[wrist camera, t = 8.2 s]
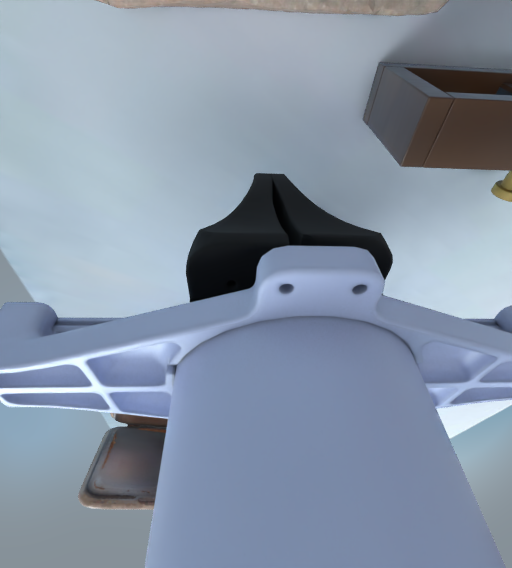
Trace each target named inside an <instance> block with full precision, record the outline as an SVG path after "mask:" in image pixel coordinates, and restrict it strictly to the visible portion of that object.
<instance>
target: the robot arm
mask: <svg viewBox="0 0 512 568" xmlns="http://www.w3.org/2000/svg"><path fill="white" fill-rule="evenodd" d="M392 263H393V257H392V253H391V251H390V249H389V247H388V245H387V243H386V241H385V239H384V238H383V236H382V235H381V233H378V232H374V231H371V230H367V229H363V228H360V227H357V226H355V225H352V224H349V223H347V222H345V221H342V220H340V219H338V218H336V217H334V216H332V215H331V214H329V213H327V212H325V211H324V210H322V209H321V208H319V207H318V206H317V205H315V204H314V203H313V202H311V201H310V200H309V199H308V198H307V197H306V196H304V195H303V194H302V193H301V192H300V191H299V190H298V189H297V188H296V187H295V186H294V185H293V183H292V182H291V181H290V180H289V179H288V178H287V177H286V176H285V175H284V174H265V173H256V174H255V175H254V180H253V183H252V185H251V187H250V189H249V191H248V193H247V195H246V196H245V197H244V199H243V200H242V202H241V203H240V204H239V205H238V207H237V208H236V209H235V210H234V211H233V212H232V213H231V214H229V215H228V216H227V217H226V218H224V219H222V220H221V221H219V222H217V223H215V224H213V225H211V226H208V227H206V228H203V229H200V230H199V231H198V233H197V235H196V237H195V239H194V241H193V244H192V246H191V249H190V252H189V255H188V260H187V265H186V276H187V283H188V289H189V295H190V303H186V304H182V305H177V306H173V307H169V308H165V309H160V310H156V311H152V312H148V313H143V314H139V315H135V316H131V317H126V318H58V317H57V315H56V313H55V311H54V310H53V309H52V308H51V307H50V306H49V305H47V304H44V303H39V302H7V303H5V304H4V305H3V306H2V308H1V309H0V402H2V403H3V404H5V405H6V406H8V407H48V408H68V409H80V410H90V411H100V412H109V413H118V414H128V415H137V416H147V417H156V418H166V419H168V423H167V429H166V435H165V441H164V448H163V454H162V460H161V466H160V473H159V479H158V485H157V492H156V498H155V504H154V510H153V517H152V523H151V529H150V536H149V542H148V549H147V554H146V561H145V567H144V568H506V567H505V564H504V562H503V560H502V558H501V555H500V553H499V551H498V549H497V546H496V544H495V542H494V539H493V537H492V535H491V533H490V530H489V528H488V526H487V523H486V521H485V519H484V517H483V514H482V512H481V510H480V507H479V505H478V503H477V501H476V498H475V496H474V494H473V492H472V489H471V487H470V485H469V482H468V480H467V478H466V476H465V473H464V471H463V469H462V467H461V464H460V462H459V460H458V457H457V455H456V453H455V451H454V449H453V446H452V444H451V442H450V439H449V437H448V435H447V433H446V430H445V428H444V426H443V423H442V421H441V419H440V417H439V414H438V412H437V410H436V409H437V408H444V407H451V406H458V405H465V404H473V403H482V402H490V401H502V400H512V306H508V307H506V308H504V309H503V310H501V311H500V312H499V313H498V314H497V316H496V317H495V318H494V319H462V318H458V317H455V316H451V315H448V314H445V313H441V312H438V311H435V310H431V309H428V308H424V307H421V306H418V305H414V304H411V303H408V302H404V301H401V300H397V299H394V298H391V297H387V296H384V295H383V290H384V283H385V279H386V277H387V275H388V273H389V271H390V269H391V266H392Z"/></svg>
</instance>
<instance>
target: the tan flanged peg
mask: <svg viewBox="0 0 512 568" xmlns="http://www.w3.org/2000/svg"><path fill="white" fill-rule="evenodd" d="M491 192H492V193H493V194H494V195H495V196H496V197H498V198H500V199H503V200H506V201H510V202H512V171H509V173H508V174H507V176H506V177H505V178H504V180H501V181H497V182H496V183H495V185H494V186H493V188H492V189H491Z"/></svg>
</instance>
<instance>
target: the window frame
mask: <svg viewBox="0 0 512 568" xmlns="http://www.w3.org/2000/svg"><path fill="white" fill-rule="evenodd" d="M363 121H364V122H365V123H366V124H367V125H368V126H369V128H370V129H371V130H372V131H373V133H374V134H375V135H376V136H377V138H378V139H379V140H380V141H381V143H382V144H383V145H384V146H385V148H386V149H387V150H388V151H389V153H390V154H391V155H392V156H393V157H394V159H395V160H396V161H397V162H398V164H399V165H400V166H403V167H424V168H452V169H481V170H509V171H512V70H501V69H484V68H467V67H450V66H432V65H415V64H398V63H381V62H380V63H379V65H378V68H377V72H376V75H375V79H374V82H373V86H372V89H371V93H370V96H369V100H368V103H367V107H366V110H365V114H364V117H363Z"/></svg>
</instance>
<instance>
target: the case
mask: <svg viewBox="0 0 512 568" xmlns="http://www.w3.org/2000/svg"><path fill="white" fill-rule="evenodd" d="M111 416H112V417H113V418H114V419H115V420H116V421H118V422H121V423H126V424H128V426H127V427H116V428H112V429H110V430H108V431H107V432H106V433H105V435H104V437H103V439H102V442H101V444H100V446H99V448H98V451H97V453H96V455H95V457H94V459H93V462H92V464H91V466H90V468H89V471H88V473H87V475H86V478H85V480H84V482H83V485H82V487H81V489H80V491H79V495H78V498H79V501H80V503H81V504H82V505H83V506H85V507H89V508H95V509H149V510H154V504H155V498H156V492H157V485H158V479H159V473H160V466H161V460H162V454H163V448H164V441H165V435H166V429H167V423H168V419H166V418H156V417H147V416H137V415H128V414H118V413H111Z"/></svg>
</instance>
